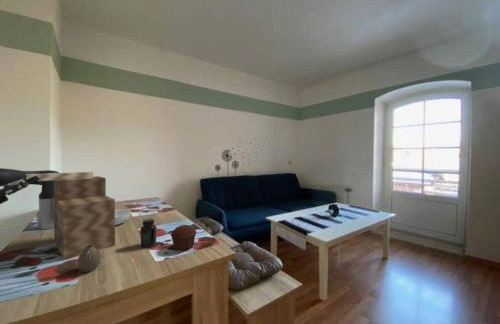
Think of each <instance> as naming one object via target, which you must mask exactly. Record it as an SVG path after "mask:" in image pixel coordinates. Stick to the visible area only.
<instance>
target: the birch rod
mask: <svg viewBox="0 0 500 324" xmlns="http://www.w3.org/2000/svg"><path fill="white" fill-rule="evenodd" d="M34 176H37V177H38V178H39V180H38V181H49V180H67V179H85V178H93V177H94V172H93V171H83V172H82V171H80V172H78V171H77V172H74V171H73V172H59V173H48V174H26V180H27V179H29V178H31V177H34Z"/></svg>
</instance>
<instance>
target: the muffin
mask: <svg viewBox="0 0 500 324" xmlns="http://www.w3.org/2000/svg"><path fill="white" fill-rule="evenodd" d="M197 233H198V232H197V230H196V229H195V227H194V226H192V225H190V224H181V225H179V226H177V227H175V229H173V231H172V232H171V234H170V236H171V241H172V246H173V250H175V251H177V252H186V251H190V250H192V249H193V248H194V245H195V241H196V240H195V239H196V235H197Z"/></svg>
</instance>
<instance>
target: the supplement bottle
mask: <svg viewBox="0 0 500 324" xmlns="http://www.w3.org/2000/svg"><path fill="white" fill-rule="evenodd" d="M139 230H140V247H142V248H151V247H153V246H156V244H157V225H156V224H155V219H154V218H147V219H143V221H142V226H141V227H140V229H139Z"/></svg>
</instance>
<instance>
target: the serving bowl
mask: <svg viewBox="0 0 500 324" xmlns="http://www.w3.org/2000/svg"><path fill="white" fill-rule="evenodd" d="M131 213H132V212H131V210H130V209H122V208H121V209H115V226H118V225H120V224H122V223H124V222H126V221H127V220H128V219H129V218H130V217H131Z"/></svg>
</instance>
